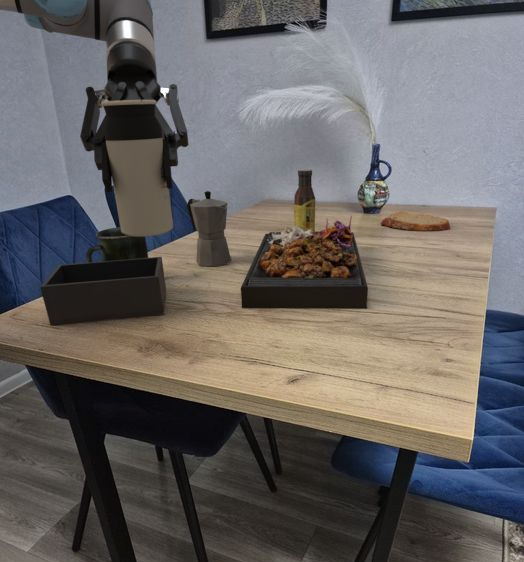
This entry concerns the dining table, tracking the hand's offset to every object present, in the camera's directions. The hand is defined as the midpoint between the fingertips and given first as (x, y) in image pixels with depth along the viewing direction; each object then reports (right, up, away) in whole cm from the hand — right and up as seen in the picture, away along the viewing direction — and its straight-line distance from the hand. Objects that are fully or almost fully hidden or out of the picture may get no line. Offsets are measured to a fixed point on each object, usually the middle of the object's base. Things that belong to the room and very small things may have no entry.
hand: (138, 184), depth 67 cm
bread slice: (+67, +16, +86) cm, 110 cm away
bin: (-14, -15, +31) cm, 37 cm away
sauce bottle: (+30, +9, +75) cm, 82 cm away
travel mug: (0, -5, +6) cm, 8 cm away
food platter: (+28, -5, +46) cm, 54 cm away
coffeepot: (+4, 0, +58) cm, 59 cm away
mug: (-15, -8, +44) cm, 48 cm away
